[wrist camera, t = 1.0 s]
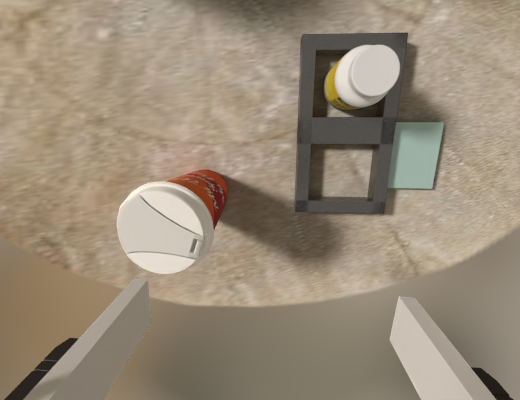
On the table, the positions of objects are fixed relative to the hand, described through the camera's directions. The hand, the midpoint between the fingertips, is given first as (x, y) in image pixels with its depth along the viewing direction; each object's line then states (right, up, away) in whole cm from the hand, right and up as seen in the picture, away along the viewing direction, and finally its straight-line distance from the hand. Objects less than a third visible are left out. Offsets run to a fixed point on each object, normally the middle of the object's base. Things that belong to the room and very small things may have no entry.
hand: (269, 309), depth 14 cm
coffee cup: (-8, +7, +22) cm, 24 cm away
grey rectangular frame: (+10, +14, +19) cm, 26 cm away
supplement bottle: (+10, +19, +18) cm, 28 cm away
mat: (+18, +11, +19) cm, 29 cm away
